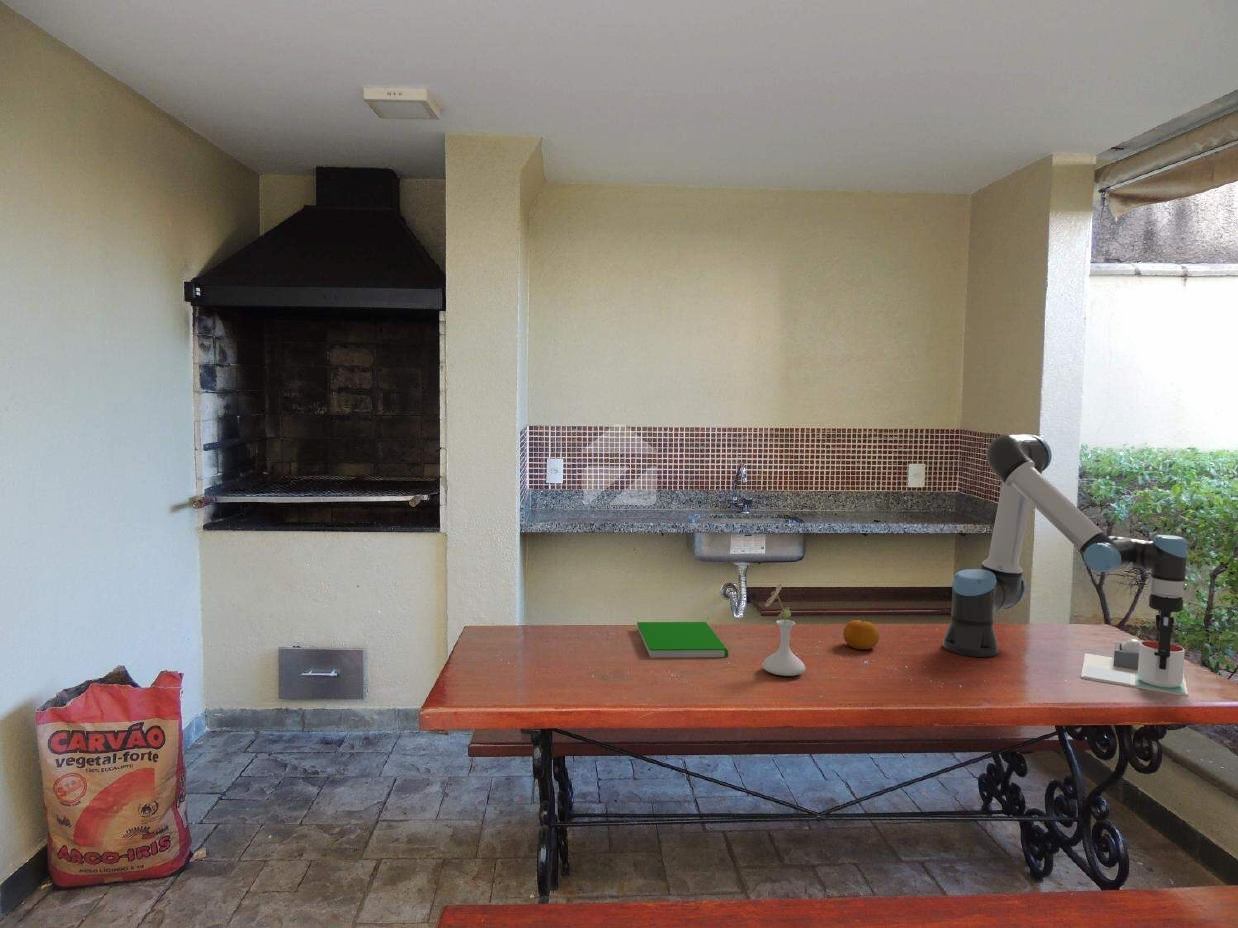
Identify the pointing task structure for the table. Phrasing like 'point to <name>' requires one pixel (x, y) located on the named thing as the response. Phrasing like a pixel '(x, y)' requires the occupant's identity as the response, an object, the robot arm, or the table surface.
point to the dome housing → (1125, 658)
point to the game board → (1121, 675)
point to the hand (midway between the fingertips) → (1160, 673)
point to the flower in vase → (783, 645)
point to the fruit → (861, 634)
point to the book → (680, 639)
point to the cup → (1149, 664)
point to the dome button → (1131, 645)
